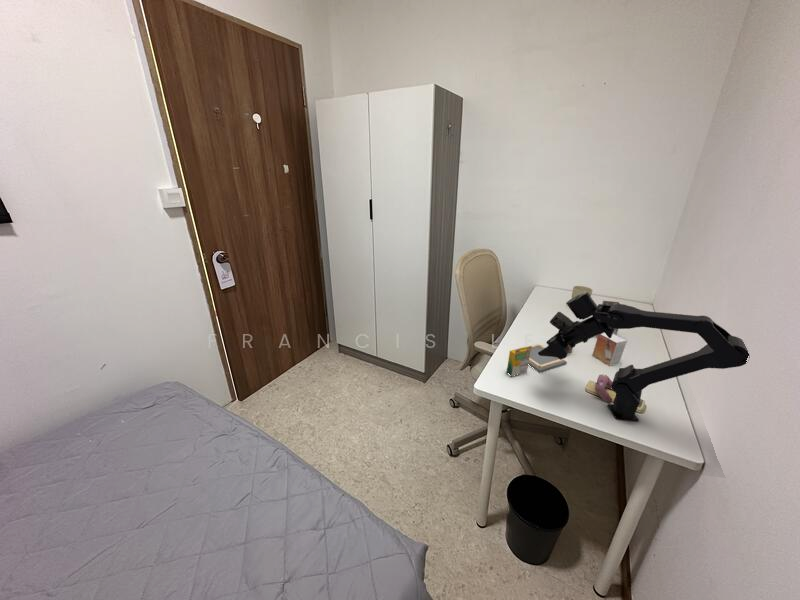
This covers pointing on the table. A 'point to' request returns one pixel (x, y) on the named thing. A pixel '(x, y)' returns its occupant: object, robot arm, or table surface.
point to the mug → (581, 290)
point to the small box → (609, 349)
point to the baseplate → (543, 360)
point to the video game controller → (603, 387)
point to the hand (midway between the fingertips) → (542, 348)
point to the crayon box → (518, 361)
